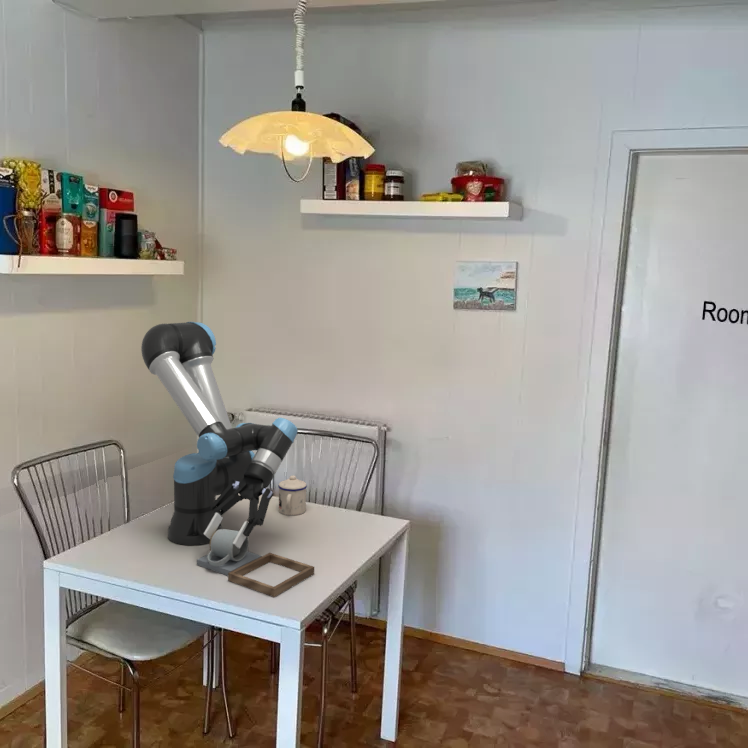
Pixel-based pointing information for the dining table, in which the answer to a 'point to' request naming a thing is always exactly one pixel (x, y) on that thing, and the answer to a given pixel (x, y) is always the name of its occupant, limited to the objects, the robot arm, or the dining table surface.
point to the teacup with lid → (292, 496)
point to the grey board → (227, 563)
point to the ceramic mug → (226, 547)
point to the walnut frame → (264, 588)
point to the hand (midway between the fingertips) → (221, 541)
